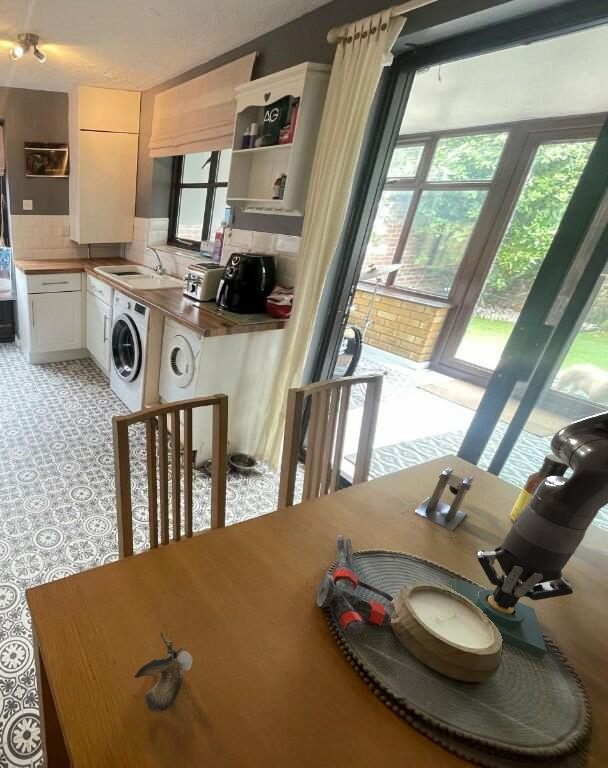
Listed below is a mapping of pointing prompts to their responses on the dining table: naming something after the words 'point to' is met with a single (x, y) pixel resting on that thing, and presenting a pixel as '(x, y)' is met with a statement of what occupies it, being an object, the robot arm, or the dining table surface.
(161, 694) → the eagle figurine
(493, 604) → the button
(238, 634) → the dining table surface
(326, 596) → the valve
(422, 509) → the grey metal stand
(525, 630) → the green button base
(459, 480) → the lever handle
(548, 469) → the sauce bottle
